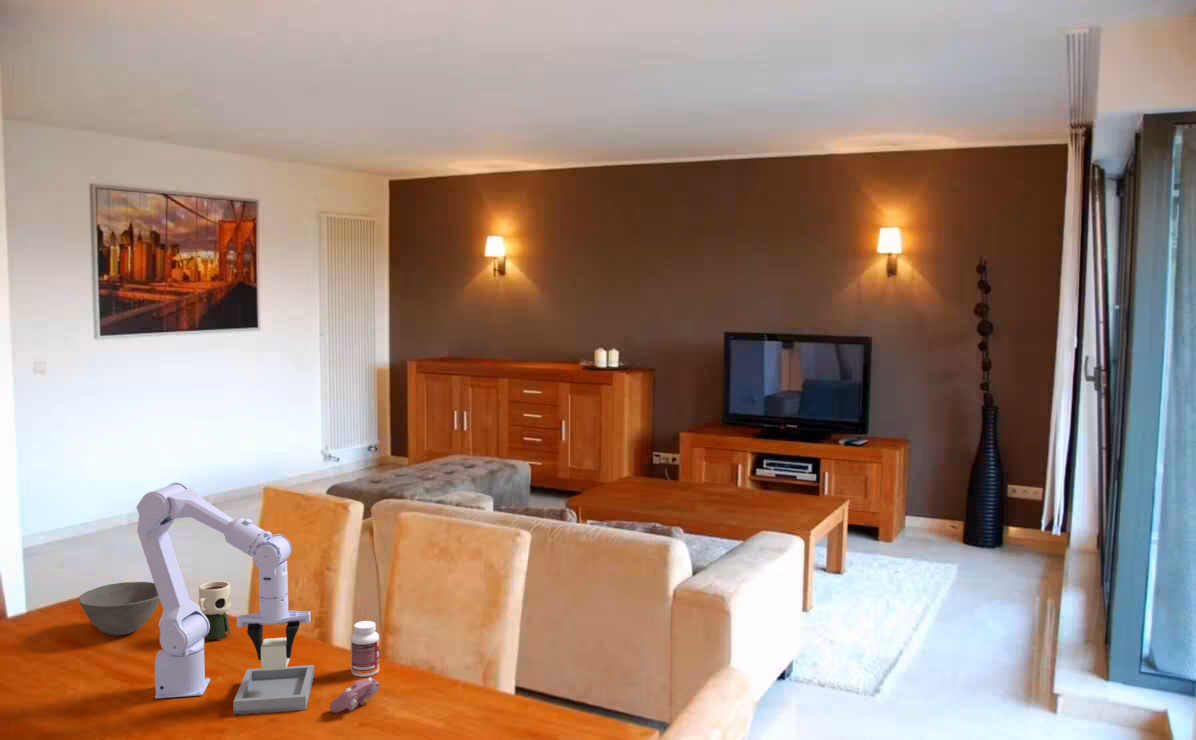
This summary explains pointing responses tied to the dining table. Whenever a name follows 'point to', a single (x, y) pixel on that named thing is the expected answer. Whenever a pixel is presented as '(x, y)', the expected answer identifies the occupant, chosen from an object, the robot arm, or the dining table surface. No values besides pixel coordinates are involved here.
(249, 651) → the dining table surface
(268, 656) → the block
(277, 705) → the tray
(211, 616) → the character mug
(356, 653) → the pill bottle
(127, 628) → the bowl
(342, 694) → the video game controller
